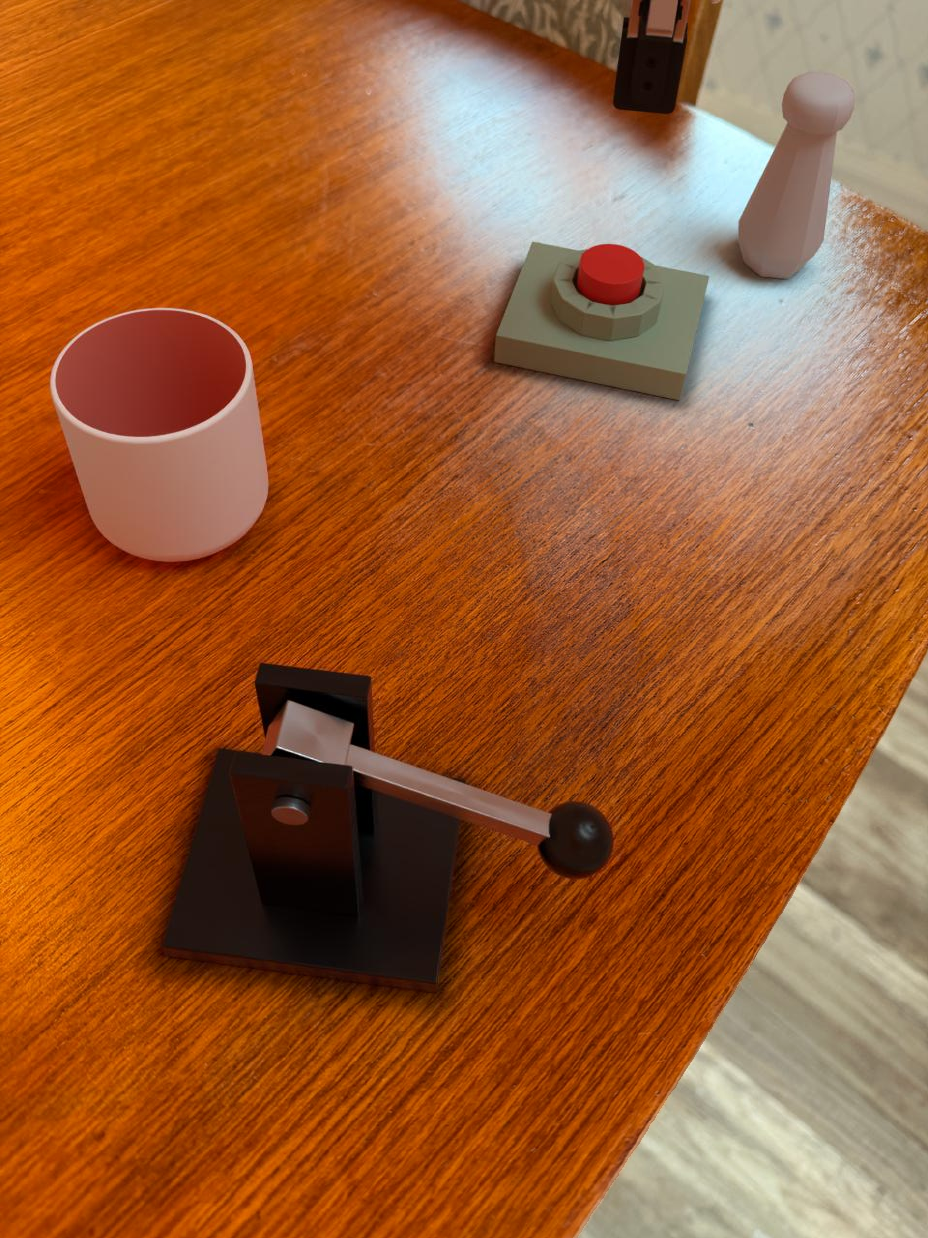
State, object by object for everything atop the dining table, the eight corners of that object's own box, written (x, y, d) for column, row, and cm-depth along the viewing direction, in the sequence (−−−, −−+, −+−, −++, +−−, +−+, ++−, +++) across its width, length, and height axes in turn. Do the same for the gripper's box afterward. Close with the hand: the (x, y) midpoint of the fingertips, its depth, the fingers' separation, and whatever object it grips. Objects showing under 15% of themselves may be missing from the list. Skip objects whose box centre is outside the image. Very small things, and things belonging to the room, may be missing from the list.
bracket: (465, 790, 58) (476, 635, 48) (437, 993, 52) (443, 866, 42) (221, 759, 58) (180, 599, 48) (165, 957, 53) (105, 822, 42)
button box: (702, 302, 81) (715, 252, 77) (679, 400, 75) (691, 351, 72) (529, 268, 82) (534, 217, 79) (493, 362, 76) (497, 311, 73)
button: (645, 273, 77) (649, 250, 75) (634, 312, 74) (638, 288, 73) (583, 261, 77) (587, 238, 76) (571, 299, 75) (574, 276, 73)
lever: (591, 831, 52) (630, 803, 50) (586, 899, 50) (626, 873, 48) (268, 719, 48) (293, 682, 46) (249, 789, 46) (275, 754, 44)
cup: (93, 584, 65) (48, 452, 57) (91, 452, 70) (49, 316, 62) (279, 560, 66) (261, 428, 58) (261, 433, 72) (243, 297, 64)
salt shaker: (722, 275, 82) (767, 96, 72) (738, 227, 86) (783, 50, 75) (807, 294, 82) (864, 116, 71) (820, 246, 85) (877, 68, 74)
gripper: (814, -258, 43) (715, 192, 58) (797, -377, 52) (715, 39, 67) (607, -274, 44) (560, 177, 58) (626, -389, 53) (581, 27, 67)
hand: (643, 102), depth 63 cm, fingers closed
